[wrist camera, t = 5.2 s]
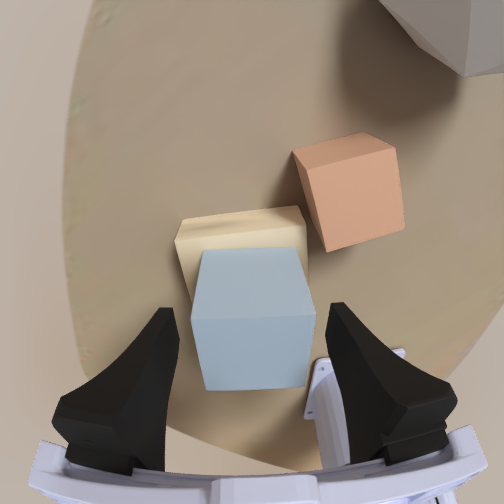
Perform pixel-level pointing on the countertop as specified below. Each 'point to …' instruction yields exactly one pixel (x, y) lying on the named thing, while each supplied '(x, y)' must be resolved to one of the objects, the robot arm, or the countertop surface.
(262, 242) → the beech base
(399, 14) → the die
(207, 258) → the blue block
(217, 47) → the countertop surface
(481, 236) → the countertop surface
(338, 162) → the terracotta block
